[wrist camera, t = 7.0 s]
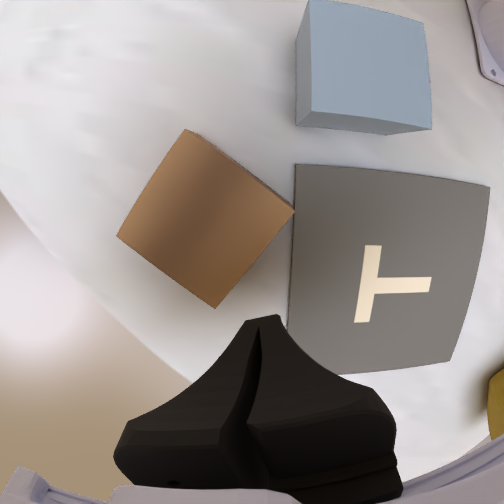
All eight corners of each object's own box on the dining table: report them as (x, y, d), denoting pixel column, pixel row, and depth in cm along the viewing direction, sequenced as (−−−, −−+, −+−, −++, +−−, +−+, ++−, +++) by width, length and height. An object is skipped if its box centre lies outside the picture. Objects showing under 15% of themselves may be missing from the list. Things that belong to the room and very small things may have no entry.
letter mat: (486, 186, 15) (490, 187, 14) (447, 358, 19) (449, 361, 18) (295, 164, 15) (296, 164, 15) (283, 372, 19) (283, 376, 18)
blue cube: (382, 53, 13) (423, 23, 8) (385, 135, 14) (431, 129, 10) (295, 41, 13) (309, -2, 8) (295, 126, 15) (311, 111, 10)
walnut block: (288, 202, 16) (295, 211, 13) (222, 284, 17) (215, 308, 15) (198, 134, 15) (184, 128, 12) (138, 222, 16) (115, 235, 14)
